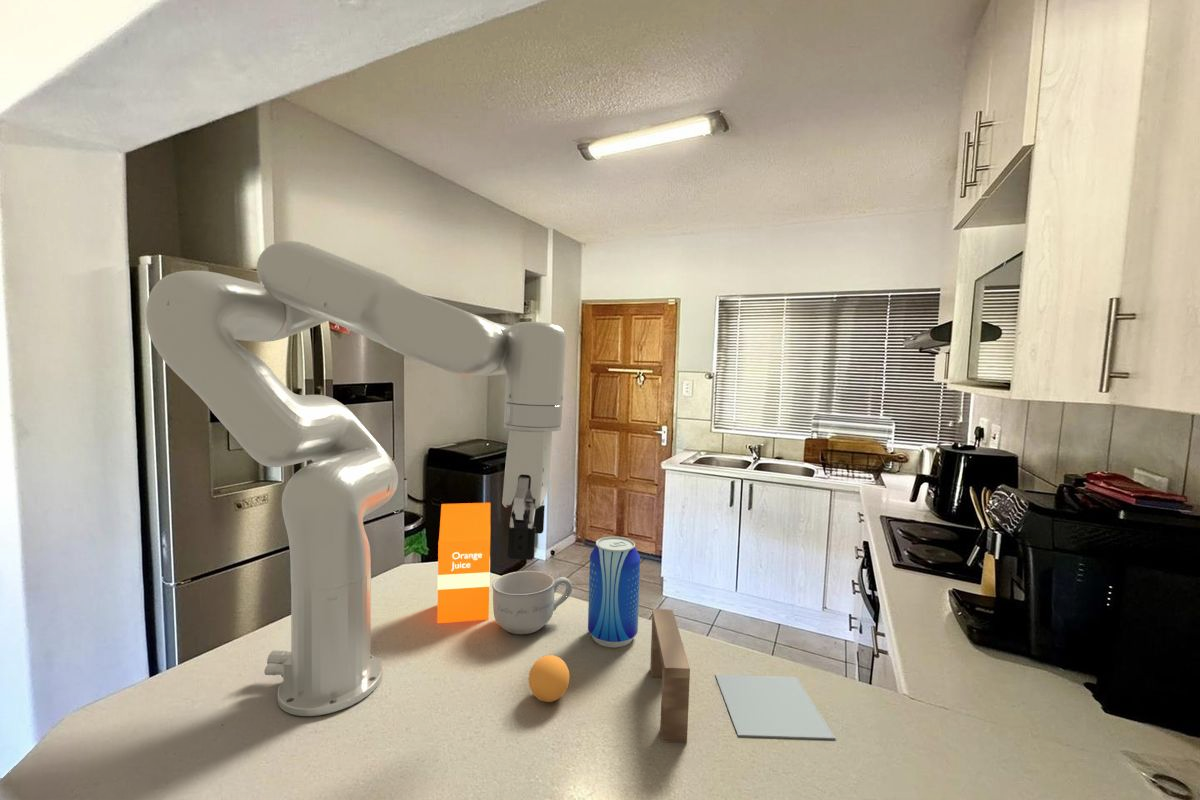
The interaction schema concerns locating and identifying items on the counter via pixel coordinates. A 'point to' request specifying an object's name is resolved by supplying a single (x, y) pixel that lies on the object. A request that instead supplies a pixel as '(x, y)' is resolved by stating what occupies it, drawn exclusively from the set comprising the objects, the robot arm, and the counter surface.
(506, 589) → the teacup
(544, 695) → the ball
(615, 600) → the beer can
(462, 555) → the orange juice
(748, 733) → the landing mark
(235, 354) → the robot arm
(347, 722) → the counter surface
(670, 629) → the bridge
